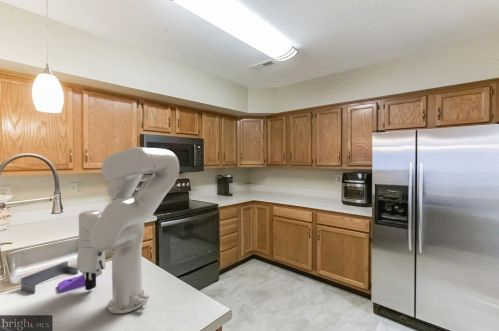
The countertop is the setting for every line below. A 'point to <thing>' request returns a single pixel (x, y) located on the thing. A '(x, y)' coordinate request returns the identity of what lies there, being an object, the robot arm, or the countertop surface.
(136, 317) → the countertop surface
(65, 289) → the bracket
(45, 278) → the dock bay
